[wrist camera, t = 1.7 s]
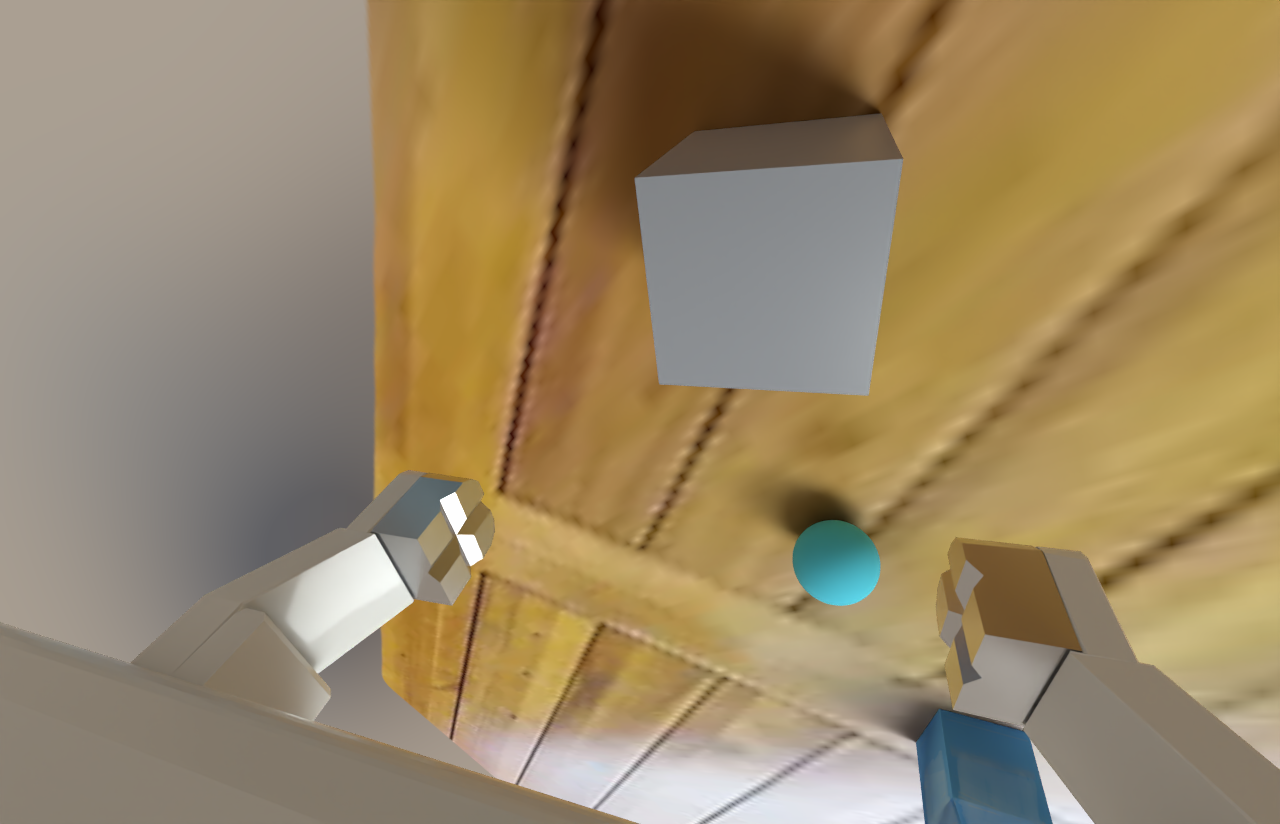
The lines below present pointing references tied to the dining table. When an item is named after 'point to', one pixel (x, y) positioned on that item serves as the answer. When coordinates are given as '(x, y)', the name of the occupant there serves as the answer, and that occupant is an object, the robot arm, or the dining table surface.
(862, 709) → the dining table surface
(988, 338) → the dining table surface
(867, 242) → the gray cuboid
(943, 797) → the perfume bottle
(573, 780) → the dining table surface
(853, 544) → the ball
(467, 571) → the robot arm
